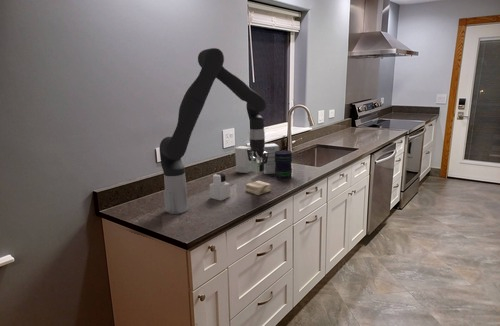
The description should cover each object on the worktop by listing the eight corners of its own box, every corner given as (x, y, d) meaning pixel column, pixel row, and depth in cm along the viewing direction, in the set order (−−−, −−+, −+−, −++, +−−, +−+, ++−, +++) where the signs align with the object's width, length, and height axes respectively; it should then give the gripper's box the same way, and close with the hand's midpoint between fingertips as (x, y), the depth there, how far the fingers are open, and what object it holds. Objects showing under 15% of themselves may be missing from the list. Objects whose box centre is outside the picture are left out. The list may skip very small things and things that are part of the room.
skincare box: (252, 171, 220) (251, 146, 216) (246, 173, 214) (246, 148, 211) (241, 169, 224) (240, 145, 220) (235, 172, 219) (234, 147, 215)
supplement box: (279, 173, 214) (279, 145, 210) (264, 174, 212) (264, 146, 208) (275, 169, 223) (275, 143, 219) (261, 170, 221) (260, 144, 217)
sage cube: (257, 173, 176) (257, 163, 175) (251, 171, 180) (250, 161, 179) (264, 171, 180) (264, 161, 178) (258, 169, 183) (258, 160, 182)
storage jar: (291, 174, 209) (291, 150, 206) (292, 179, 200) (292, 153, 196) (275, 174, 210) (274, 150, 207) (274, 179, 201) (274, 154, 197)
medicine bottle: (220, 194, 179) (219, 171, 176) (230, 196, 174) (229, 173, 172) (210, 198, 174) (208, 174, 171) (220, 201, 169) (219, 177, 166)
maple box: (257, 195, 176) (257, 188, 175) (246, 191, 183) (245, 184, 182) (270, 191, 182) (270, 184, 181) (258, 187, 189) (258, 180, 188)
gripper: (242, 137, 178) (243, 169, 183) (261, 140, 168) (262, 174, 172) (253, 135, 183) (254, 166, 187) (272, 138, 173) (273, 171, 177)
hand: (257, 170), depth 180 cm, fingers closed on sage cube, 5 cm apart
